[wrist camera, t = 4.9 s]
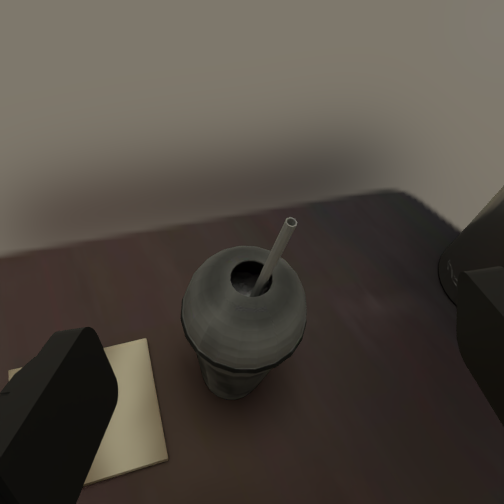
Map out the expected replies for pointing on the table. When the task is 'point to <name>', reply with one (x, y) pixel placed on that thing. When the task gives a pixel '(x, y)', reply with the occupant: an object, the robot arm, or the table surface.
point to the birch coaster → (129, 416)
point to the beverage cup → (244, 315)
